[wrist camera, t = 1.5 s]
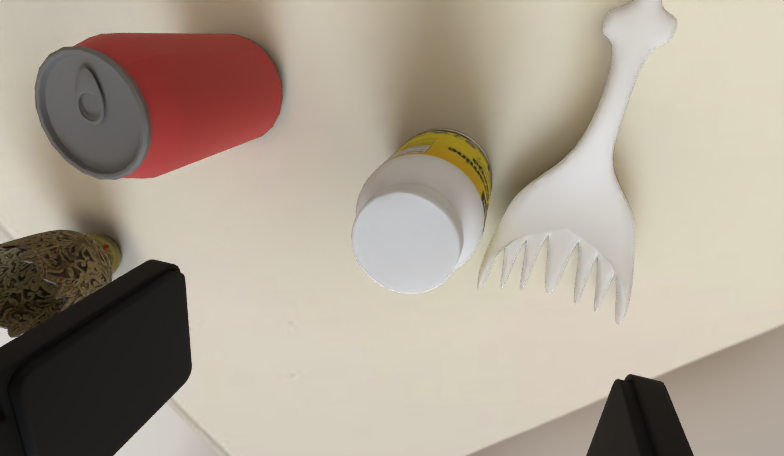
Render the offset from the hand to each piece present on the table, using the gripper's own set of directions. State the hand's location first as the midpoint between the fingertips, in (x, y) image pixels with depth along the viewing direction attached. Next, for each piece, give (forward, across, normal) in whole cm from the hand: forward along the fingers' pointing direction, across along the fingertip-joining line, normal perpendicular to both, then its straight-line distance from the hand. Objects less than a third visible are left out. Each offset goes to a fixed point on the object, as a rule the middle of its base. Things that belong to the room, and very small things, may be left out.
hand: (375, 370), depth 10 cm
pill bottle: (+21, +2, +2) cm, 21 cm away
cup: (+21, +28, +13) cm, 37 cm away
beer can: (+21, +16, -2) cm, 26 cm away
